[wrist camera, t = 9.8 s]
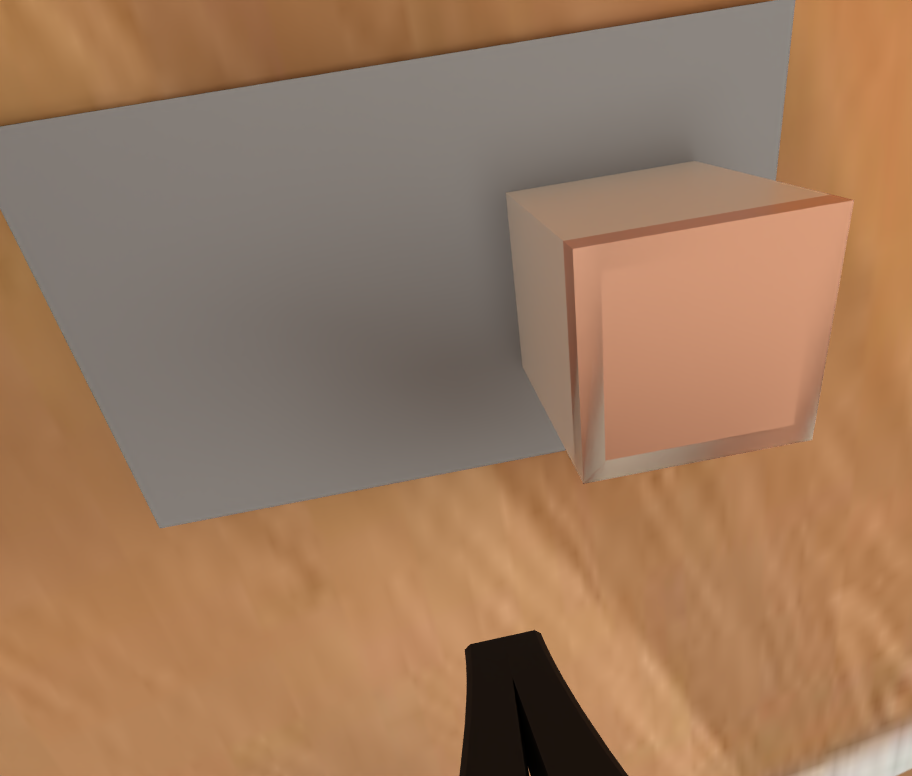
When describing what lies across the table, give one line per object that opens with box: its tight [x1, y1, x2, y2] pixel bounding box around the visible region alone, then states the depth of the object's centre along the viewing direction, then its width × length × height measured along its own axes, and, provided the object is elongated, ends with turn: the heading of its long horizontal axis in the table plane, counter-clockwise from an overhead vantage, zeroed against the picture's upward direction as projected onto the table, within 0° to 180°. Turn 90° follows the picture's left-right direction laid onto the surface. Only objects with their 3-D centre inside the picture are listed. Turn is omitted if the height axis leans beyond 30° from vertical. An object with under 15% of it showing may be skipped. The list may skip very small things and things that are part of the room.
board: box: [0, 0, 795, 528], centre depth 17 cm, size 20×12×1 cm, turn 98°
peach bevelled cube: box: [506, 161, 854, 484], centre depth 14 cm, size 5×5×6 cm
